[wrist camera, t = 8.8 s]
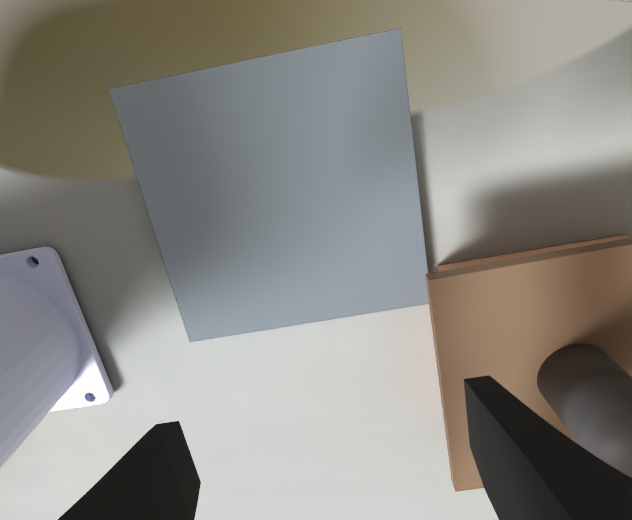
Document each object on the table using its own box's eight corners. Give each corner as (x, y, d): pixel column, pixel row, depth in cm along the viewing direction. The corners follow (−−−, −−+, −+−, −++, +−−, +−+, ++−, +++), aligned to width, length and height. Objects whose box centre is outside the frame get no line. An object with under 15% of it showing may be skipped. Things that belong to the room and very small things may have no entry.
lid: (451, 480, 20) (487, 586, 16) (425, 273, 17) (461, 336, 12) (688, 447, 19) (794, 549, 15) (710, 223, 16) (855, 271, 12)
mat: (192, 336, 21) (189, 342, 21) (114, 89, 17) (108, 88, 17) (428, 298, 20) (431, 303, 20) (398, 30, 17) (400, 28, 16)
